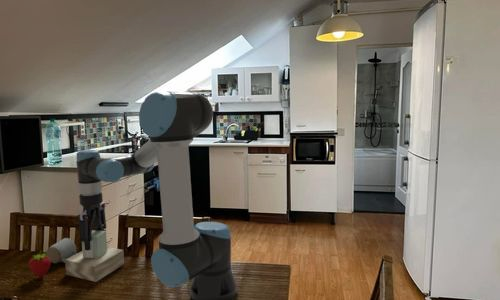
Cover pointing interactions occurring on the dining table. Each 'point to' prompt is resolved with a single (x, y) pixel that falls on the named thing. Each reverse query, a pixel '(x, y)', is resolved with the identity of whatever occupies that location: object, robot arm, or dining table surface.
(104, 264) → the birch block
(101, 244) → the sage block
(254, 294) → the dining table surface
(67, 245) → the ceramic mug
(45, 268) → the strawberry
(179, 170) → the robot arm
